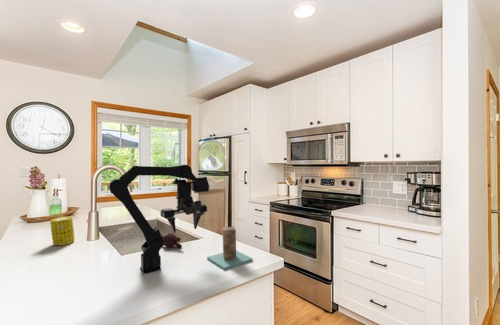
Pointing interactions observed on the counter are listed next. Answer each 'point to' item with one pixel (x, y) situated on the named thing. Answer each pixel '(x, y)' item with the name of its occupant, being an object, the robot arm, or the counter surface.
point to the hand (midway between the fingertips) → (185, 230)
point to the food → (62, 230)
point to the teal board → (227, 264)
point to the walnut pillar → (229, 243)
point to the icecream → (171, 240)
